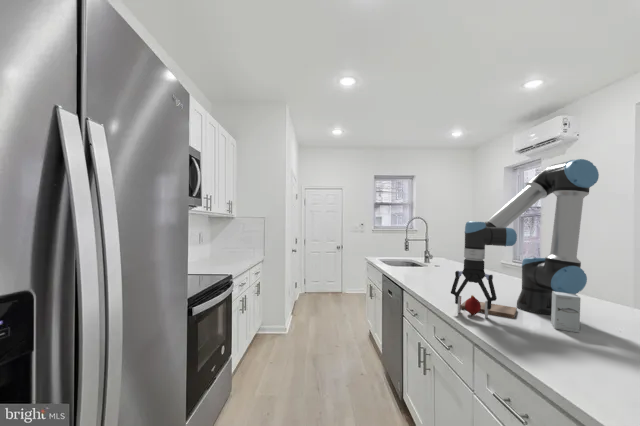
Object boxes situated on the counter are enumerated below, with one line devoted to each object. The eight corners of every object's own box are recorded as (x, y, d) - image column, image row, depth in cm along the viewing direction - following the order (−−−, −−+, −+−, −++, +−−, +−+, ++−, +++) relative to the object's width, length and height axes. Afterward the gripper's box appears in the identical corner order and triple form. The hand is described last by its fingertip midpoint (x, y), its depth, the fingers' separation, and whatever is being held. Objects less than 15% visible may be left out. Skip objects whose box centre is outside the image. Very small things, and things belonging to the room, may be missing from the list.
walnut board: (516, 311, 138) (516, 307, 138) (514, 318, 127) (514, 314, 127) (466, 302, 150) (466, 299, 150) (460, 308, 138) (460, 305, 138)
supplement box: (554, 329, 115) (555, 294, 116) (550, 323, 122) (551, 290, 122) (580, 333, 112) (581, 297, 112) (575, 327, 118) (575, 293, 119)
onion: (477, 313, 132) (477, 294, 132) (482, 317, 126) (483, 297, 126) (462, 312, 132) (463, 293, 133) (467, 316, 127) (468, 296, 127)
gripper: (443, 257, 133) (441, 311, 133) (504, 263, 120) (502, 322, 120) (448, 255, 139) (446, 307, 139) (506, 261, 127) (504, 318, 126)
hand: (472, 314), depth 129 cm, fingers open, 9 cm apart
